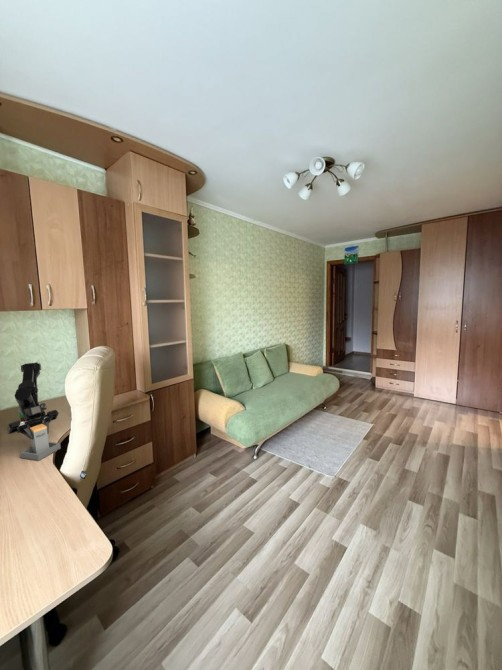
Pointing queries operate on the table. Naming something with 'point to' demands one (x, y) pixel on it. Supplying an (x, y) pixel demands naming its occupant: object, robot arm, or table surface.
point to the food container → (22, 414)
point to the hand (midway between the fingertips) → (40, 436)
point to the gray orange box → (39, 438)
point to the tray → (37, 457)
